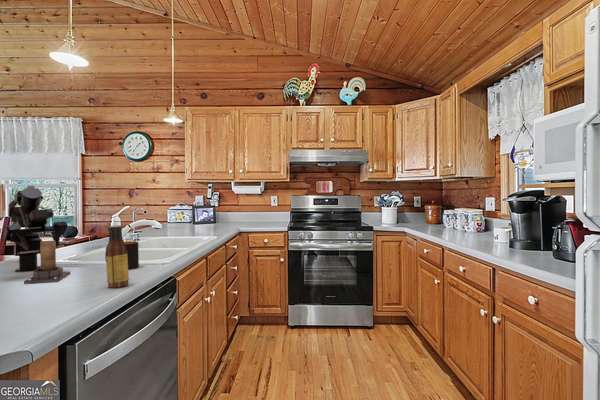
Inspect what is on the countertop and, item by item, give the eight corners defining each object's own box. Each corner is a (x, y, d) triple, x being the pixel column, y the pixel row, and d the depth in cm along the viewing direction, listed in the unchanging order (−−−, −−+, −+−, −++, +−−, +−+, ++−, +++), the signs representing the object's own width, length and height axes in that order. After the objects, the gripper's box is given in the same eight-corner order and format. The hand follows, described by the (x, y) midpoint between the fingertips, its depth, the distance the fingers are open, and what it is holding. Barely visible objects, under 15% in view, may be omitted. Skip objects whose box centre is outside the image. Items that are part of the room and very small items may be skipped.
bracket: (39, 276, 128) (39, 266, 128) (70, 274, 131) (70, 264, 131) (23, 284, 117) (23, 273, 117) (58, 281, 120) (58, 271, 120)
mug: (105, 268, 141) (104, 243, 141) (137, 265, 147) (137, 240, 147) (106, 272, 134) (105, 245, 134) (139, 268, 140) (139, 243, 140)
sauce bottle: (132, 283, 117) (131, 225, 117) (123, 288, 111) (122, 226, 111) (112, 283, 117) (111, 225, 117) (102, 288, 111) (101, 226, 111)
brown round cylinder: (45, 274, 126) (44, 240, 126) (58, 274, 126) (58, 240, 126) (37, 277, 122) (37, 242, 121) (51, 277, 122) (50, 241, 122)
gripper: (4, 203, 121) (16, 237, 115) (65, 200, 136) (78, 230, 130) (-2, 223, 126) (9, 257, 120) (57, 219, 141) (69, 249, 135)
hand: (43, 247), depth 127 cm, fingers open, 9 cm apart
